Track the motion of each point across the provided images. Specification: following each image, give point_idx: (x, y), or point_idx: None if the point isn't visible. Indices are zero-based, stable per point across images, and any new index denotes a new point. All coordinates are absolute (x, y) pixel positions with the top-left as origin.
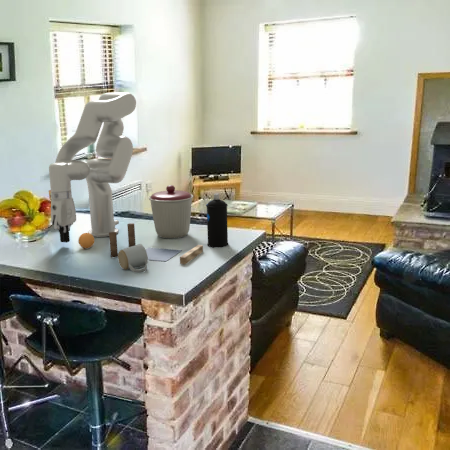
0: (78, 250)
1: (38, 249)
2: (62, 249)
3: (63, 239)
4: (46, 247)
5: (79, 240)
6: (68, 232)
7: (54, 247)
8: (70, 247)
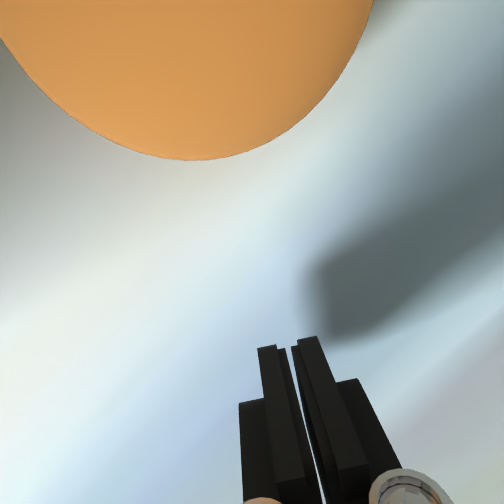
0: None
1: (465, 467)
2: (389, 285)
3: (362, 394)
4: None
5: (365, 22)
6: (296, 466)
7: None
8: (282, 270)
